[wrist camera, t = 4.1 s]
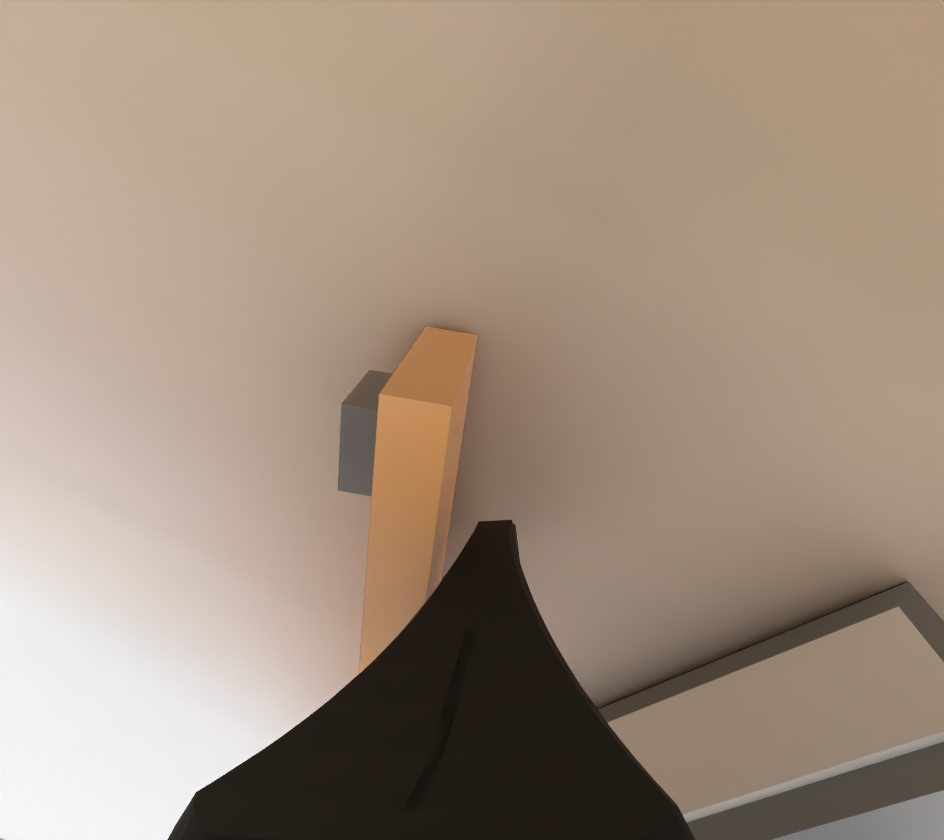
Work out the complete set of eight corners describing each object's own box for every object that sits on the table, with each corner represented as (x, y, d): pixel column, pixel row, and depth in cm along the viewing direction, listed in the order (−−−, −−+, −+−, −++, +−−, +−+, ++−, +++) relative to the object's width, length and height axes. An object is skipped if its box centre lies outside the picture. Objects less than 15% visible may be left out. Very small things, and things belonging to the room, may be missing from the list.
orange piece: (477, 335, 11) (451, 406, 8) (410, 789, 17) (380, 935, 14) (385, 319, 11) (321, 383, 8) (351, 777, 17) (307, 920, 14)
